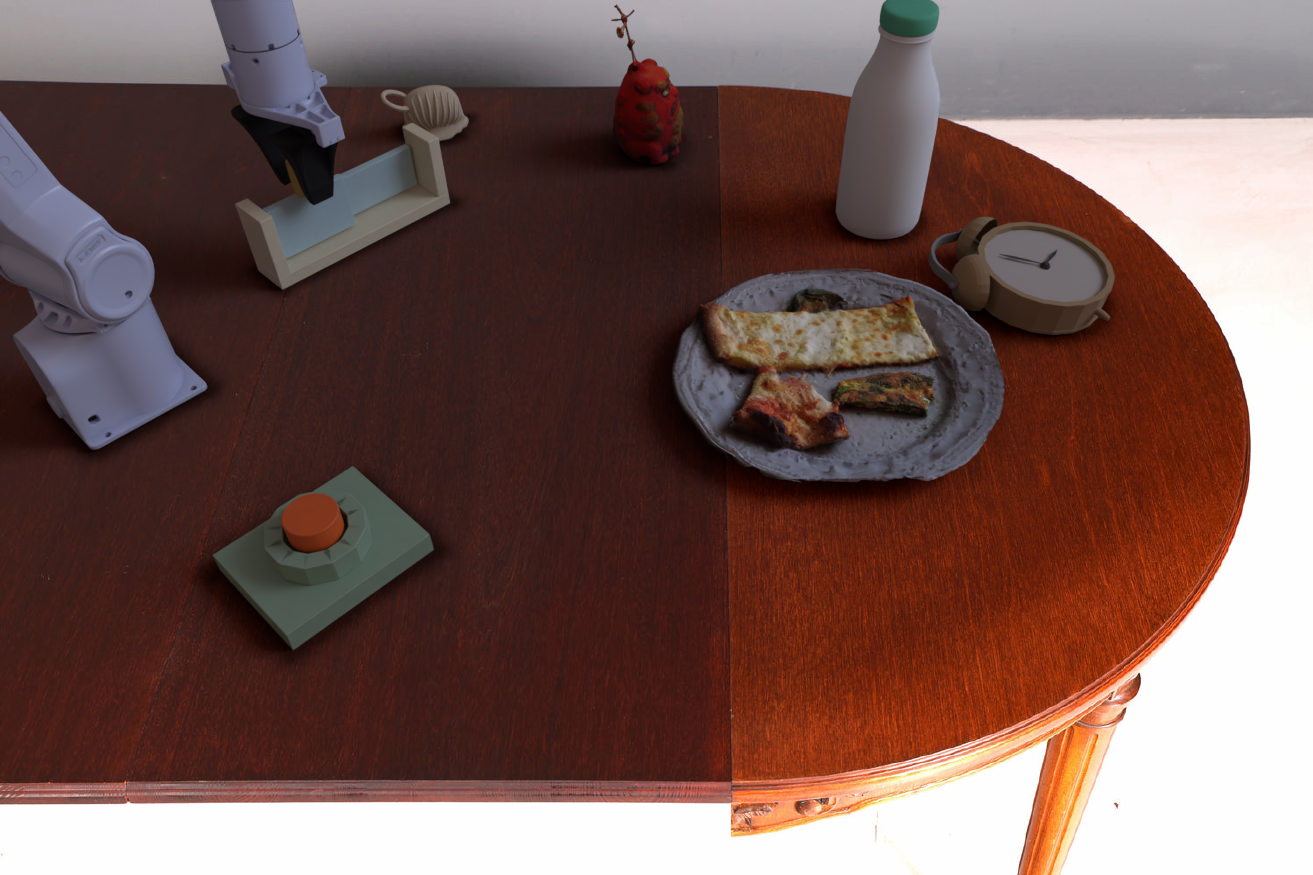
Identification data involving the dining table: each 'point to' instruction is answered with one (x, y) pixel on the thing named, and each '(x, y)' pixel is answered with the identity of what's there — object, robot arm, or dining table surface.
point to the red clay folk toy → (646, 109)
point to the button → (313, 522)
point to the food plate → (839, 377)
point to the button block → (324, 560)
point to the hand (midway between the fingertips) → (307, 189)
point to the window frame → (358, 208)
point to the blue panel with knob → (310, 216)
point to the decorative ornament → (431, 110)
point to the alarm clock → (1027, 275)
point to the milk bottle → (891, 126)
